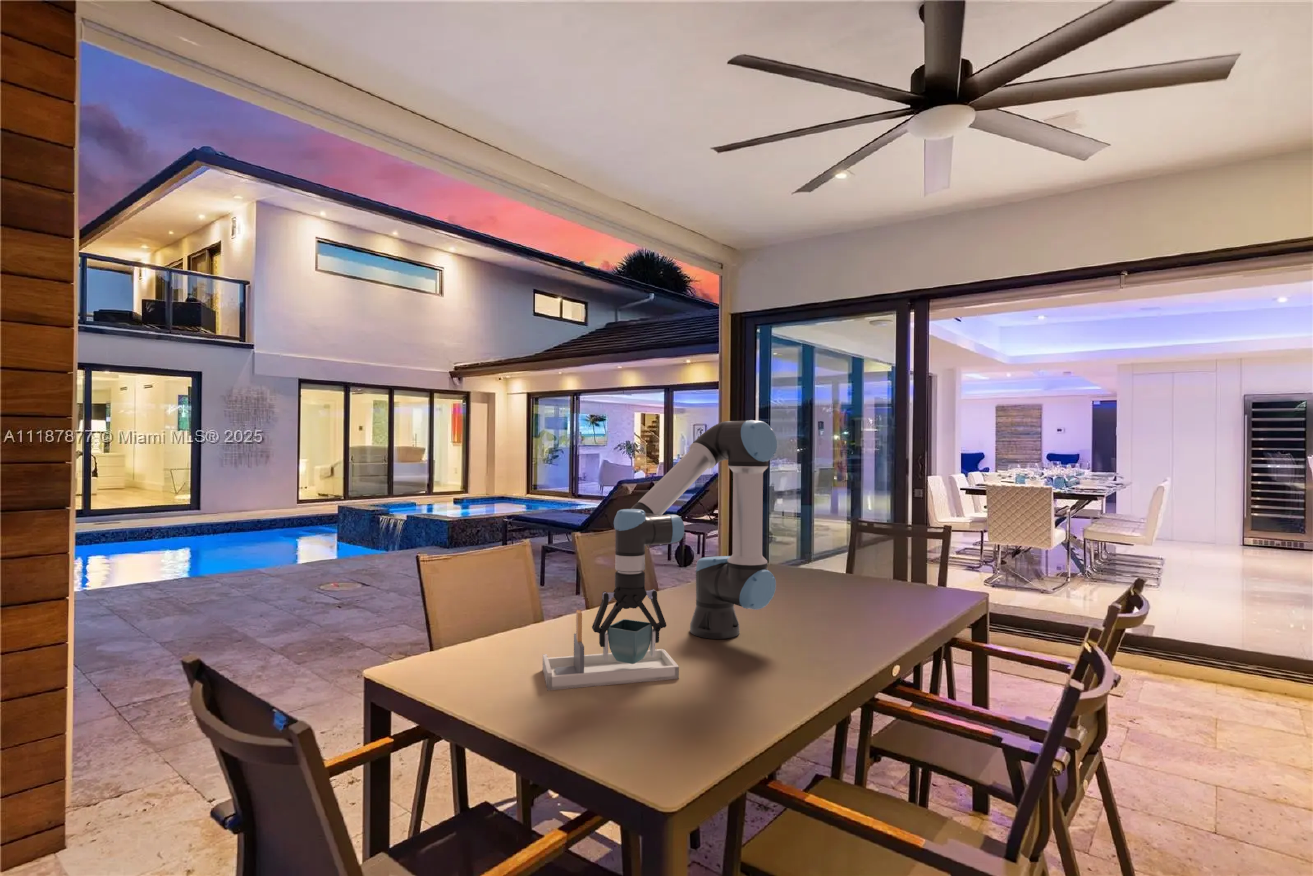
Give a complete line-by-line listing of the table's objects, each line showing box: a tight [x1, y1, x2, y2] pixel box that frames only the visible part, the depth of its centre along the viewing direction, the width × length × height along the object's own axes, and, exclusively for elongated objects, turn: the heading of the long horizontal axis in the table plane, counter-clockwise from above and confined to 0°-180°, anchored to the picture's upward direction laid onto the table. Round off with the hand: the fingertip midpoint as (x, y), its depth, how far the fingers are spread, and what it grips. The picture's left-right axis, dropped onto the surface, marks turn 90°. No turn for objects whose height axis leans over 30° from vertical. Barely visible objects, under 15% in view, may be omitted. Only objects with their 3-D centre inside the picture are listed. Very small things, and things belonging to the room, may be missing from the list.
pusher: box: [555, 609, 585, 675], centre depth 159 cm, size 6×11×15 cm, turn 15°
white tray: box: [542, 648, 680, 691], centre depth 161 cm, size 32×14×4 cm, turn 105°
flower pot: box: [606, 618, 653, 664], centre depth 163 cm, size 9×9×9 cm
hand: (629, 657), depth 163 cm, fingers closed on flower pot, 11 cm apart
